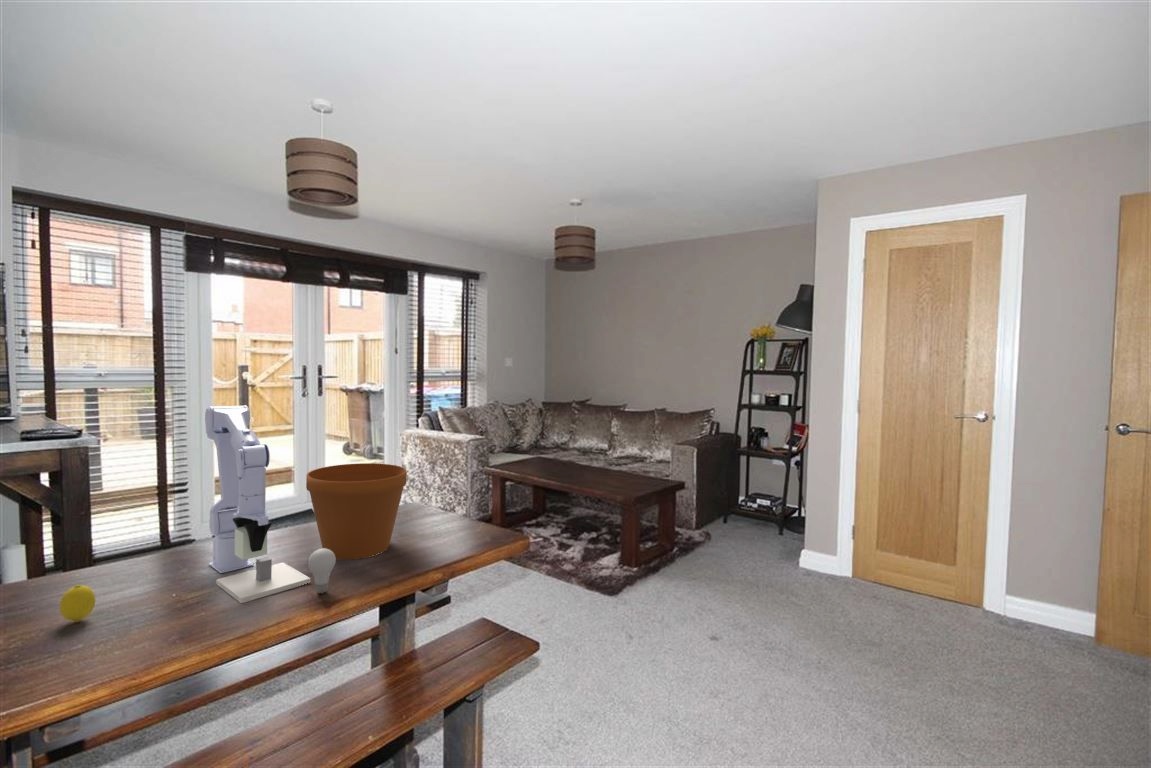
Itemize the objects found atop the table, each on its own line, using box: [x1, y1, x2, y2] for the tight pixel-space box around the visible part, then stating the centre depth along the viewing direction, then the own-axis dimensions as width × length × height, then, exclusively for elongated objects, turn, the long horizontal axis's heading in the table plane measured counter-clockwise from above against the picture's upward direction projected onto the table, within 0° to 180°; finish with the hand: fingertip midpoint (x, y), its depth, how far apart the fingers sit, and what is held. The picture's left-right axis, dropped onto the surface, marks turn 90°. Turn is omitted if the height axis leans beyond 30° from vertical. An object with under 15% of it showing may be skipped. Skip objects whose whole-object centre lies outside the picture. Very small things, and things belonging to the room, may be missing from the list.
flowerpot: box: [305, 462, 408, 561], centre depth 163 cm, size 28×28×24 cm
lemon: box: [59, 584, 96, 623], centre depth 115 cm, size 6×6×8 cm
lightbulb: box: [307, 548, 337, 594], centre depth 132 cm, size 6×6×11 cm
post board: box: [215, 556, 311, 604], centre depth 137 cm, size 16×16×6 cm
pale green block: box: [235, 527, 268, 560], centre depth 134 cm, size 5×5×7 cm
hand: (251, 547), depth 134 cm, fingers closed on pale green block, 5 cm apart
